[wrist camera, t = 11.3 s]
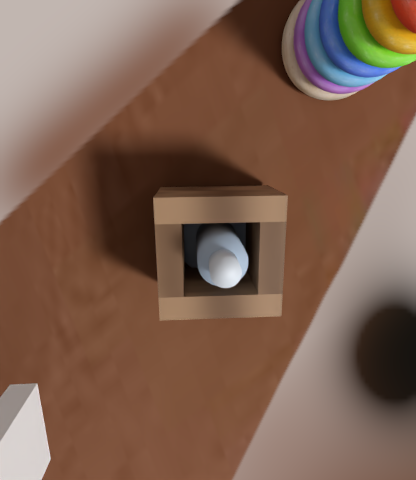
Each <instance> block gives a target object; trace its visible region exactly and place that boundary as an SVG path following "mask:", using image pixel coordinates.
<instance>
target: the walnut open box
mask: <svg viewBox="0 0 416 480" xmlns="http://www.w3.org/2000/svg"><path fill="white" fill-rule="evenodd" d="M287 200H288V195H286V194H284V193H282V192H280V191H278V190H276V189H274V188H272V187H270V186H268V185H266V186H204V187H161V188H160V189H159V190H158V192H157V193H156V195H155V196H154V197H153V204H154V223H155V241H156V259H157V278H158V296H159V315H160V320H185V319H214V318H243V317H272V316H281V313H282V294H283V275H284V256H285V238H286V219H287ZM245 222H246V247H245V251H246V253H247V255H248V268H247V271H246V273H245V275H244V276H243V277H242V278H241V279H240V281H239V282H238V283H237V284H236V285H235V286H233V287H230V288H221V287H218V286H215V285H212V284H210V283H208V282H207V281H206V280H205V279H204V278H203V277H202V276H201V274H200V272H199V270H198V268H185V254H184V224H198V223H245Z"/></svg>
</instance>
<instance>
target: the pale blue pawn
mask: <svg viewBox="0 0 416 480" xmlns="http://www.w3.org/2000/svg"><path fill="white" fill-rule="evenodd" d="M245 247H246V222H245V223H198V224H184V254H185V262H186V263H187V264H188V265H189V266H190V267H191V268H198V270H199V272H200V274H201V276H202V277H203V278H204V279H205V280H206V281H207V282H208V283H210V284H212V285H215V286H218V287H221V288H230V287H233V286H235V285H236V284H237V283H238V282H239V281H240V279H241V278H242V277H243V276H244V275H245V273H246V271H247V268H248V255H247V253H246V251H245Z"/></svg>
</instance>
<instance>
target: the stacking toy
mask: <svg viewBox="0 0 416 480" xmlns="http://www.w3.org/2000/svg"><path fill="white" fill-rule="evenodd" d="M282 58H283V63H284V66H285V69H286V72H287V74H288V76H289V78H290V79H291V81H292V82H293V84H294V85H295V86H296V87H297V88H298V89H299V90H301V91H302V92H303V93H305V94H307V95H308V96H310V97H313V98H316V99H320V100H338V99H342V98H345V97H348V96H350V95H352V94H354V93H356V92H358V91H359V90H362V89H364V88H366V87H368V86H369V85H371V84H372V83H374V82H375V81H377V80H379V79H381V78H382V77H384V76H385V75H387V74H388V73H391V72H393V71H395V70H396V69H398V68H400V67H401V66H404V65H407V64H409V63H411V62H413V61H415V60H416V0H300V1H299V2H298V3H297V4H296V6H295V7H294V9H293V10H292V12H291V14H290V16H289V18H288V20H287V22H286V25H285V28H284V32H283V38H282Z"/></svg>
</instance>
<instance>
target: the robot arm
mask: <svg viewBox="0 0 416 480" xmlns="http://www.w3.org/2000/svg"><path fill="white" fill-rule="evenodd" d="M50 459H51V458H50V452H49V447H48V441H47V436H46V430H45V424H44V419H43V413H42V407H41V402H40V396H39V390H38V385H37V383H36V384H15V385H9V387H8V388H7V389H6V391H5V392H4V393H3V395H2V396H1V397H0V480H42V477H43V475H44V473H45V471H46V468H47V466H48V464H49V462H50Z"/></svg>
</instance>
